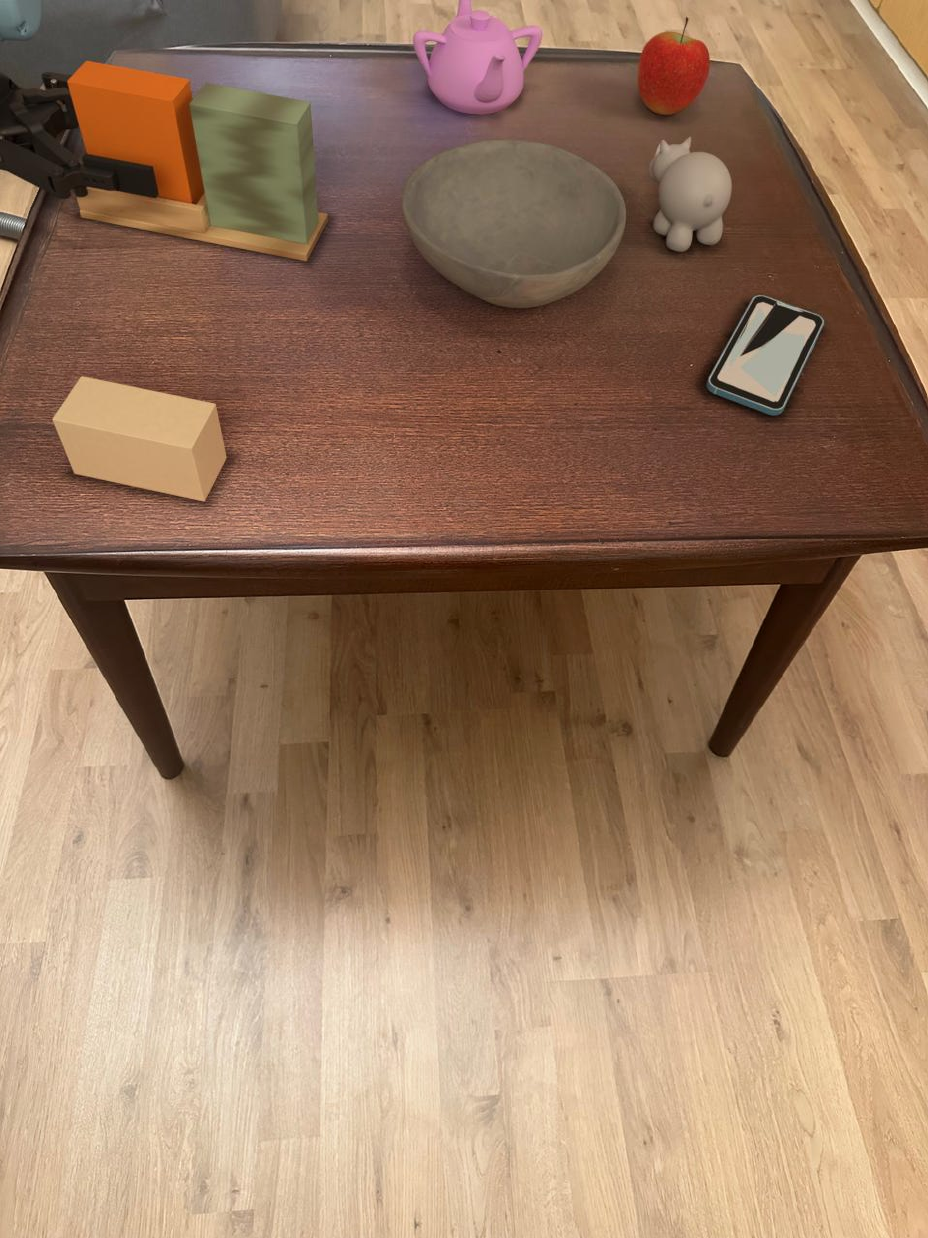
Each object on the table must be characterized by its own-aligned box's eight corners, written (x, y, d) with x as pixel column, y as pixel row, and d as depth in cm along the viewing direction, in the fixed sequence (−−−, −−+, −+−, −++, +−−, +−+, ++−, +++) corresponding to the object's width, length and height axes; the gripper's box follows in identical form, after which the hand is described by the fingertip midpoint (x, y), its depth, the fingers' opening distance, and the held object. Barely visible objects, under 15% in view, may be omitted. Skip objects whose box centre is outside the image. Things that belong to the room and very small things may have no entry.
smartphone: (704, 383, 85) (755, 291, 93) (701, 391, 86) (752, 299, 94) (782, 413, 84) (827, 317, 91) (778, 421, 84) (824, 325, 92)
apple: (618, 112, 113) (635, 21, 104) (648, 85, 117) (668, -4, 108) (678, 135, 110) (701, 45, 102) (707, 107, 115) (731, 18, 106)
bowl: (654, 304, 92) (675, 231, 86) (475, 371, 85) (482, 297, 79) (534, 192, 102) (544, 118, 95) (364, 244, 95) (362, 168, 88)
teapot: (458, 56, 118) (462, -23, 110) (551, 96, 114) (562, 16, 106) (400, 92, 112) (400, 11, 105) (495, 135, 108) (503, 54, 101)
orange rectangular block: (100, 204, 95) (66, 80, 85) (117, 182, 97) (86, 59, 87) (195, 222, 94) (172, 100, 84) (210, 200, 96) (189, 78, 86)
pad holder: (81, 217, 94) (41, 86, 84) (111, 178, 98) (77, 49, 88) (306, 261, 93) (296, 133, 82) (328, 220, 97) (320, 93, 86)
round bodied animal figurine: (679, 186, 104) (700, 109, 97) (728, 251, 98) (754, 173, 91) (620, 194, 103) (637, 116, 96) (665, 260, 97) (687, 182, 90)
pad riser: (74, 473, 76) (51, 419, 71) (100, 431, 78) (81, 375, 73) (204, 502, 75) (191, 448, 70) (227, 457, 78) (215, 403, 73)
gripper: (35, 87, 101) (229, 123, 100) (-85, 211, 88) (137, 255, 86) (12, 11, 95) (219, 48, 93) (-121, 132, 82) (117, 177, 80)
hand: (180, 147), depth 90 cm, fingers open, 11 cm apart
